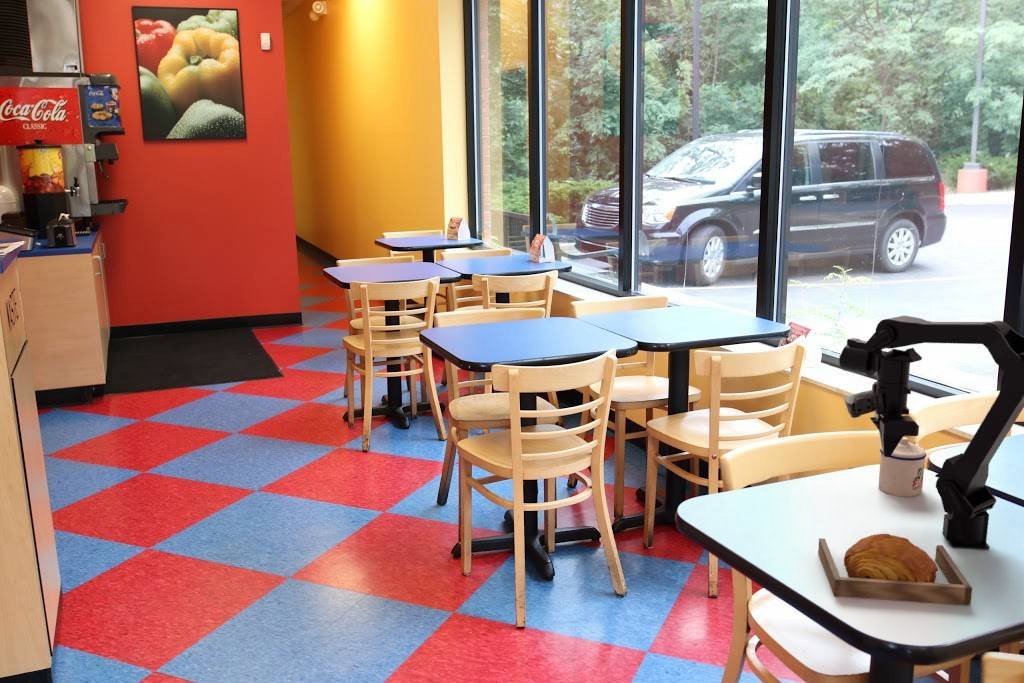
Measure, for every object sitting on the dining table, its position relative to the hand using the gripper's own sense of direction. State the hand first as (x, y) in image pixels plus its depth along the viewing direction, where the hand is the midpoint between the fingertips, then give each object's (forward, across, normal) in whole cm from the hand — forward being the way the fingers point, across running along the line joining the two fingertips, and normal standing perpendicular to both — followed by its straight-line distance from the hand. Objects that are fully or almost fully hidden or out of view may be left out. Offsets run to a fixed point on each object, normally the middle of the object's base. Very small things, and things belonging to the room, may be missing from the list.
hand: (886, 456), depth 177 cm
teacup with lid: (+12, -15, +7) cm, 21 cm away
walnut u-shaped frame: (+12, +29, -5) cm, 32 cm away
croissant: (+12, +29, -5) cm, 32 cm away
